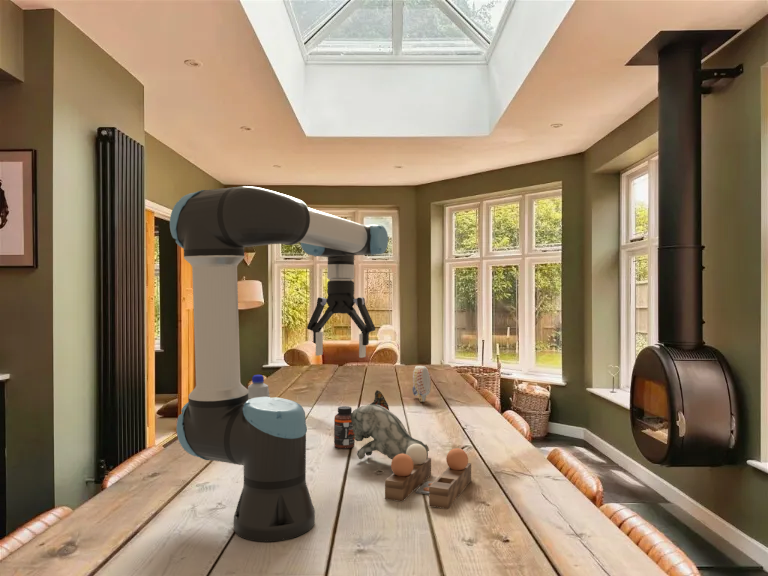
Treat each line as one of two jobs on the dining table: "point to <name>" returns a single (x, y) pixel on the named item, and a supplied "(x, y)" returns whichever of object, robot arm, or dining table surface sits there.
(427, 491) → the card
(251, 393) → the bottle
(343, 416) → the supplement bottle
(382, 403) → the butterfly
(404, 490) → the rack
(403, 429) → the figurine
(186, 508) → the dining table surface
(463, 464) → the rust ball
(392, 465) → the rust ball
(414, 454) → the cream ball
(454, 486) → the rack
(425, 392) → the white patterned rounded slab
